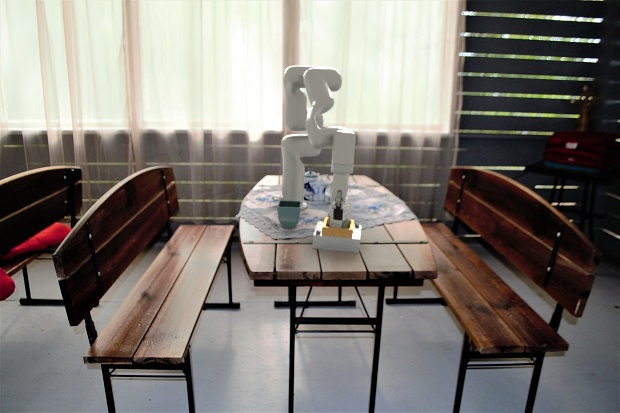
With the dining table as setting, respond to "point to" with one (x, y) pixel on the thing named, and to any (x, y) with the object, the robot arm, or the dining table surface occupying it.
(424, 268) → the dining table surface
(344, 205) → the syrup box
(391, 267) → the dining table surface
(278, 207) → the flower pot
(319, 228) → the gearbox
